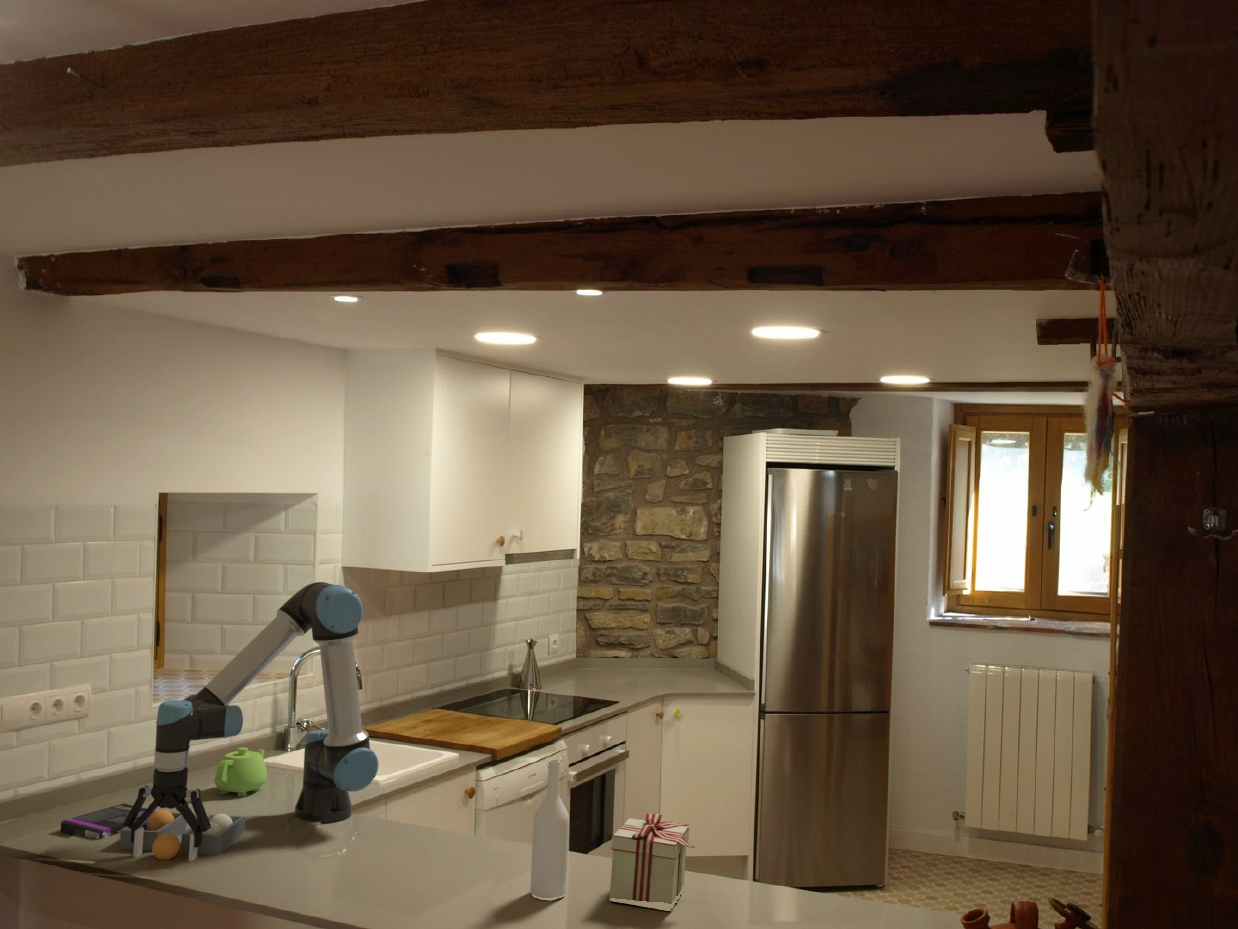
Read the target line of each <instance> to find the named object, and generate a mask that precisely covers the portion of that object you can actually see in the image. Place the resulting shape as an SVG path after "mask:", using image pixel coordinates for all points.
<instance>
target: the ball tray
mask: <svg viewBox="0 0 1238 929" xmlns="http://www.w3.org/2000/svg"><path fill="white" fill-rule="evenodd" d="M155 812H157V810H154V811H153V813H152V814H151V815H150V816H149V817H148V818H147V819H146V820H145V821H144V823H143V824H142V825H141V826H140V827H139V828H141V827H142V828H144V831H143V846H142V851H151V852H152V846H153V843H154V841H155V840H156V838H157V837H159V836H160V835H162V834H166V833H170V834H173V835H175V836H176V837H177V838H178V837H179V836H181V840H180V854H179V855H182V856H183V855H185V854H189V849H190V834H192V833H193V831H192V829H191V828H188V829H187V825H188V823H187V822H186V820H185V819H184V818H183V816H182V815H181V813H180V812H179V811H177V812H175V811H169V812H170V813H171V814H172V815H173V817H174V820H172V821H171V822H169V823H168V824H166V825H165V826H163V827H162V828H160V829H158V830H157V831H150V829H149V827H148V822H149V819H150V817H151V816H152V815H153V814H154V813H155ZM215 815H216V814H208V815H207V817H208V819H209V820H210V819H211V818H212V817H213V816H215ZM228 816H229V817H230V818H231V819H232V822H233V824H231V825H230V826H228V827H227V828H226V829H224V830H223V831H222V832H220V833H219V834H218V835H212V834H202V844H201V846H199V847H198V849H197V855H198V854H200V855H212V856H213V855H215V856H218V855H220V854H221V853H222V852H224V851H225V850H227V849H228V848H229V847H230V846H231V845H232V844H234V843H235V842H236V841H238V839H240V838H241V837H243V836H244V835H245V826H246V825H245V824H246V816H244V815H243V816H242V815H240V816H239V815H228ZM119 834H120V837H119V849H121V850H132V851H134V843H131V829H130V828H129V827H125V828H123V829H121V833H119ZM151 860H152V859H151V858H147V859H146V861H147V862H150V861H151ZM173 862H174V860H172V859H169V862H168V863H173Z"/></svg>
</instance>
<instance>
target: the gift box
mask: <svg viewBox="0 0 1238 929" xmlns="http://www.w3.org/2000/svg"><path fill="white" fill-rule="evenodd" d="M662 817H663V814H657V813H646V814H645V820H644V819H637V818H631V817H628V818H627V819H626V820H625V822H624V823H623V824H622V825H621V826H620V827H619V828H618V829H617V831H615V833H614V834H613V835H612V836H611V848H610V849H611V850H612V857H611V859H612V860H611V861H612V862H611V871H610V872H611V873H610V875H611V876H610V886H609V899H610V898H615V899H626V900H635V901H647V902H664V903H668V904H672V902H673V901H674V900H675V898H676V896H678V894H679V893H680V891H681V889H682V887H683V885H684V886H685V874H686V861H687V860H686V859H687V857H686V856H687V847H688V848H690V849H694V848H696V846H695V845H693V844H692V845H691V844H690V843H689V842H688V841H689V834H690V827H688V826H689V824H684V823H678V822H674V821H661V820H662Z"/></svg>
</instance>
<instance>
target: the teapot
mask: <svg viewBox="0 0 1238 929" xmlns="http://www.w3.org/2000/svg"><path fill="white" fill-rule="evenodd" d="M265 752H266V750H265V749H262V748H260V749H257V751H252V750H249V748H248V747H245V746H244V747H238V748H237V751H236V750H235V751H232V752H228V753H226V754H225V755H224V756H223V758H222V759H221V760H220V761H219V764H218V767H217V769H216V771H215V775H214V784H215V786H216V788H217V789H218V790H220V792H219V794H220V795H228V794H229V793H230V792H231V793H237V797H239V798H246V797H248V793H247V792H252V793H253V792H255V793H256V792H260V791H261V789H260V788H261V787H262V786H263V785H264V784H265V783H266V781H267V778H268V772H267V767H266V763H265V761H264V756H265Z"/></svg>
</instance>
